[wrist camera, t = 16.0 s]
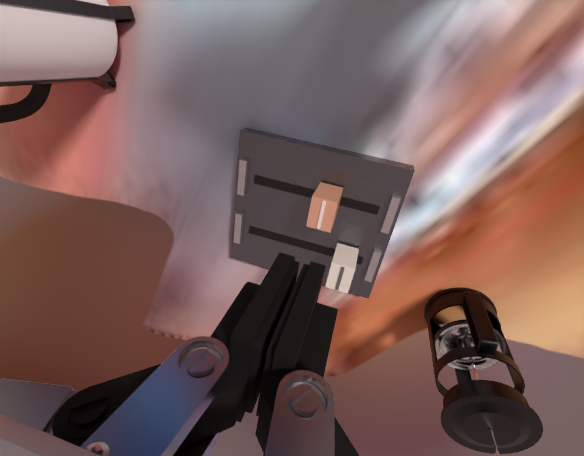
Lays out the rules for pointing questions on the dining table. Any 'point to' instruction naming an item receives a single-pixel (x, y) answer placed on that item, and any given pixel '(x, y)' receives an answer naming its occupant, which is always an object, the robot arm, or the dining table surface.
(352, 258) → the fader ivory
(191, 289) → the dining table surface
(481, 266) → the dining table surface
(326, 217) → the fader terracotta
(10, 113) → the coffee press
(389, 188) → the console
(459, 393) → the french press
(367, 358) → the dining table surface
